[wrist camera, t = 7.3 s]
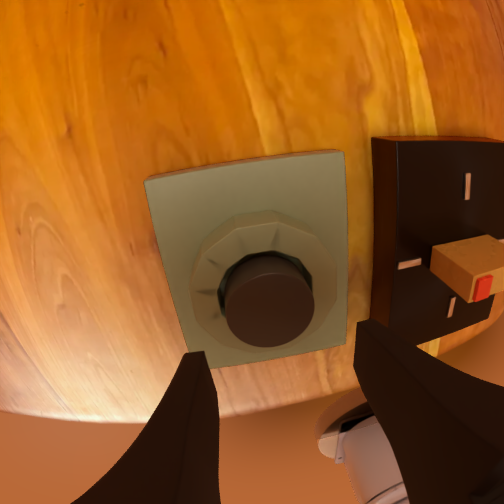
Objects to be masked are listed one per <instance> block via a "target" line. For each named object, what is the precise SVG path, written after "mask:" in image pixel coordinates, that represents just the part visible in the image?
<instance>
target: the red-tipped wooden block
mask: <svg viewBox="0 0 504 504" xmlns="http://www.w3.org/2000/svg"><path fill="white" fill-rule="evenodd" d="M430 271H431V272H432V273H434V274H435V275H436V276H437V277H438V278H440V279H441V280H442V281H443V282H444V283H446V284H447V285H448V286H449V287H450V288H451V289H453V290H454V291H455V292H456V293H457V294H458V295H459V296H461V297H462V298H463V299H464V300H465V301H466V302H467V303H471V302H473V301H474V302H477V301H480V300H482V299H485V298H488V297H489V295H492V294H495V293H497V292H500V291H502V290H504V244H503V243H502V242H500V241H498V240H497V239H495V238H493V237H491V236H490V235H488V234H487V235H483V236H478V237H473V238H469V239H464V240H459V241H455V242H450V243H445V244H440V245H436V246H432V254H431V263H430Z"/></svg>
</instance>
